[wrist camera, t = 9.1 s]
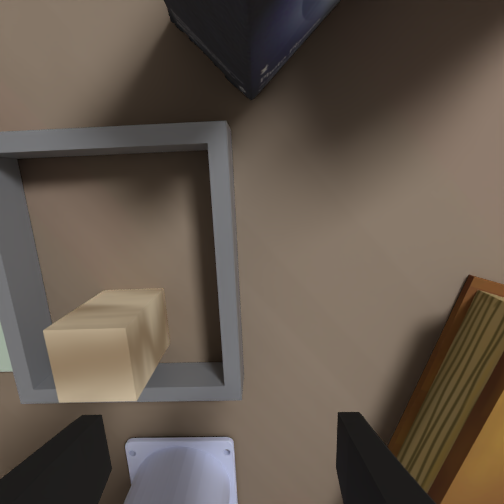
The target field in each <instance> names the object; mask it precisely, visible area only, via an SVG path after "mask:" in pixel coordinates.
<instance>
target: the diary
mask: <svg viewBox="0 0 504 504" xmlns="http://www.w3.org/2000/svg"><path fill="white" fill-rule="evenodd" d="M388 448H389V450H390V451H391V452H392V453H393V455H394V456H395V457H396V458H397V459H398V461H399V462H400V463H401V464H402V465H403V466H404V468H405V469H406V470H407V471H408V472H409V473H410V474H411V476H412V477H413V478H414V479H415V480H416V481H417V482H418V484H419V485H420V486H421V487H422V488H423V489H424V490H425V492H426V493H427V494H428V495H429V496H430V497H431V498H432V499H433V500H434V502H435V503H436V504H504V284H500V283H497V282H493V281H490V280H486V279H483V278H479V277H476V276H472V275H469V276H468V278H467V280H466V282H465V284H464V287H463V289H462V291H461V293H460V295H459V297H458V299H457V301H456V303H455V306H454V308H453V310H452V312H451V314H450V316H449V318H448V320H447V322H446V325H445V327H444V329H443V331H442V333H441V335H440V337H439V339H438V341H437V344H436V346H435V348H434V350H433V352H432V354H431V356H430V358H429V360H428V363H427V365H426V367H425V369H424V371H423V373H422V375H421V377H420V379H419V381H418V384H417V386H416V388H415V390H414V392H413V394H412V396H411V398H410V400H409V403H408V405H407V407H406V409H405V411H404V413H403V415H402V417H401V419H400V422H399V424H398V426H397V428H396V430H395V432H394V434H393V436H392V438H391V441H390V443H389V445H388Z"/></svg>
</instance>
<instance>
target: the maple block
mask: <svg viewBox="0 0 504 504" xmlns="http://www.w3.org/2000/svg"><path fill="white" fill-rule="evenodd" d="M43 333H44V338H45V342H46V347H47V351H48V356H49V360H50V365H51V369H52V374H53V378H54V383H55V387H56V392H57V396H58V400H59V403H67V402H117V401H137V400H138V398H139V396H140V395H141V393H142V391H143V389H144V388H145V386H146V384H147V382H148V381H149V379H150V377H151V376H152V374H153V372H154V370H155V369H156V367H157V365H158V363H159V362H160V360H161V358H162V356H163V355H164V353H165V351H166V350H167V348H168V346H169V344H170V337H169V329H168V320H167V312H166V303H165V295H164V288H156V289H126V290H104V291H102V292H101V293H99V294H98V295H96V296H95V297H93V298H92V299H90V300H89V301H87V302H86V303H84V304H82V305H81V306H79V307H78V308H76V309H75V310H73V311H72V312H70V313H69V314H67V315H66V316H64V317H63V318H61V319H60V320H58V321H56V322H55V323H53V324H52V325H50V326H49V327H47V328H46V329H44V330H43Z"/></svg>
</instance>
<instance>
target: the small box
mask: <svg viewBox="0 0 504 504" xmlns="http://www.w3.org/2000/svg"><path fill="white" fill-rule="evenodd" d="M340 1H341V0H164V2H165V4H166V6H167V8H168V12H169V16H170V19H171V22H173V23H175V25H176V26H177V28H179V29H180V30H181V31H182V32H184V33H186V34H187V35H188V36H189V39H190V40H191V41H193V42H194V43H195V44H196V45H197V46H198V47H199V48H200V49H201V50H202V51H203V53H204V54H206V55H207V56H208V57H209V58H210V59H211V60H212V61H213V63H214V64H215V66H217V67H218V68H219V69H220V70H221V71H222V72H223V73H224V74H225V77H226V78H227V79H228V80H229V81H230V82H231V83H232V84H233V85H234V86H235V87H236V88H238V89H239V90H240V91H241V92H243V93H244V94H245V95H246V97H247V98H249V99H251V100H252V99H254V98H255V97H256V96H257V95H258V94H259V93H260V92H261V90H262V89H263V88H264V87H265V86H266V85H267V83H268V82H269V81H270V80H271V79H272V78H273V77H274V76H275V74H276V73H277V72H278V71H279V70H280V69H281V67H282V66H283V65H284V64H285V63H286V62H287V61H288V60H289V58H290V57H291V56H292V55H293V54H294V53H295V52H296V50H297V49H298V48H299V47H300V46H301V45H302V44H303V42H304V41H305V40H306V39H307V38H308V37H309V36H310V35H311V34H312V32H313V31H314V30H315V29H316V28H317V27H318V26H319V24H320V23H321V22H322V21H323V20H324V19H325V18H326V17H327V15H328V14H329V13H330V12H331V11H332V10H333V9H334V8H335V6H336V5H337V4H338V3H339V2H340Z"/></svg>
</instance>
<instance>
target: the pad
mask: <svg viewBox="0 0 504 504" xmlns="http://www.w3.org/2000/svg"><path fill="white" fill-rule="evenodd" d="M9 371H13V370H12V366H11V362H10V358H9V354H8V350H7V346H6V342H5V338H4V334H3V330H2V326H1V322H0V372H9Z"/></svg>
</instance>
